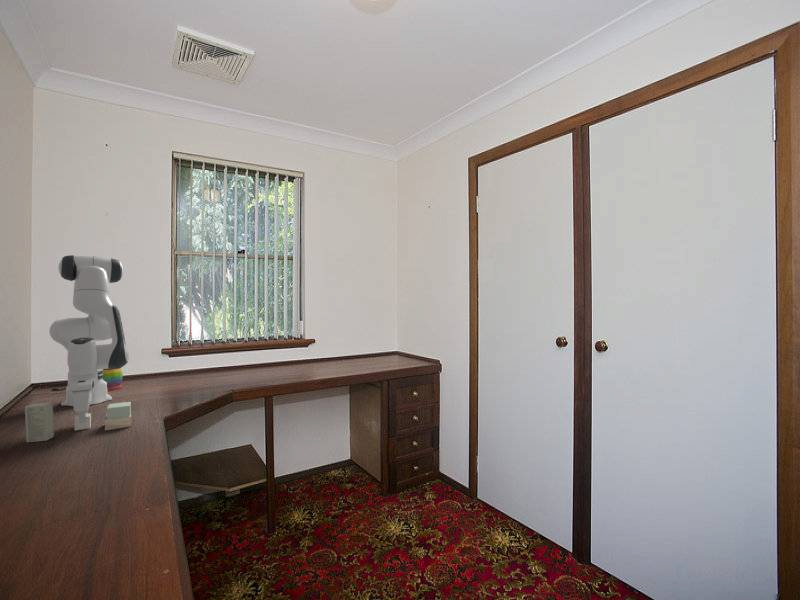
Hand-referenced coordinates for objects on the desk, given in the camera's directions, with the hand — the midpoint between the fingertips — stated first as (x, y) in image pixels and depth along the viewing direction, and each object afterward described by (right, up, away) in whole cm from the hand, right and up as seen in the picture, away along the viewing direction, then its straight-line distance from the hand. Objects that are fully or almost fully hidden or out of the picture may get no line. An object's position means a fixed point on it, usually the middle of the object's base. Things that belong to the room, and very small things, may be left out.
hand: (83, 419), depth 154 cm
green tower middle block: (+11, +1, +3) cm, 12 cm away
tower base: (+11, -3, +3) cm, 12 cm away
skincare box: (-5, -4, -13) cm, 14 cm away
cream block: (0, -3, 0) cm, 3 cm away
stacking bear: (-35, -3, +65) cm, 74 cm away
